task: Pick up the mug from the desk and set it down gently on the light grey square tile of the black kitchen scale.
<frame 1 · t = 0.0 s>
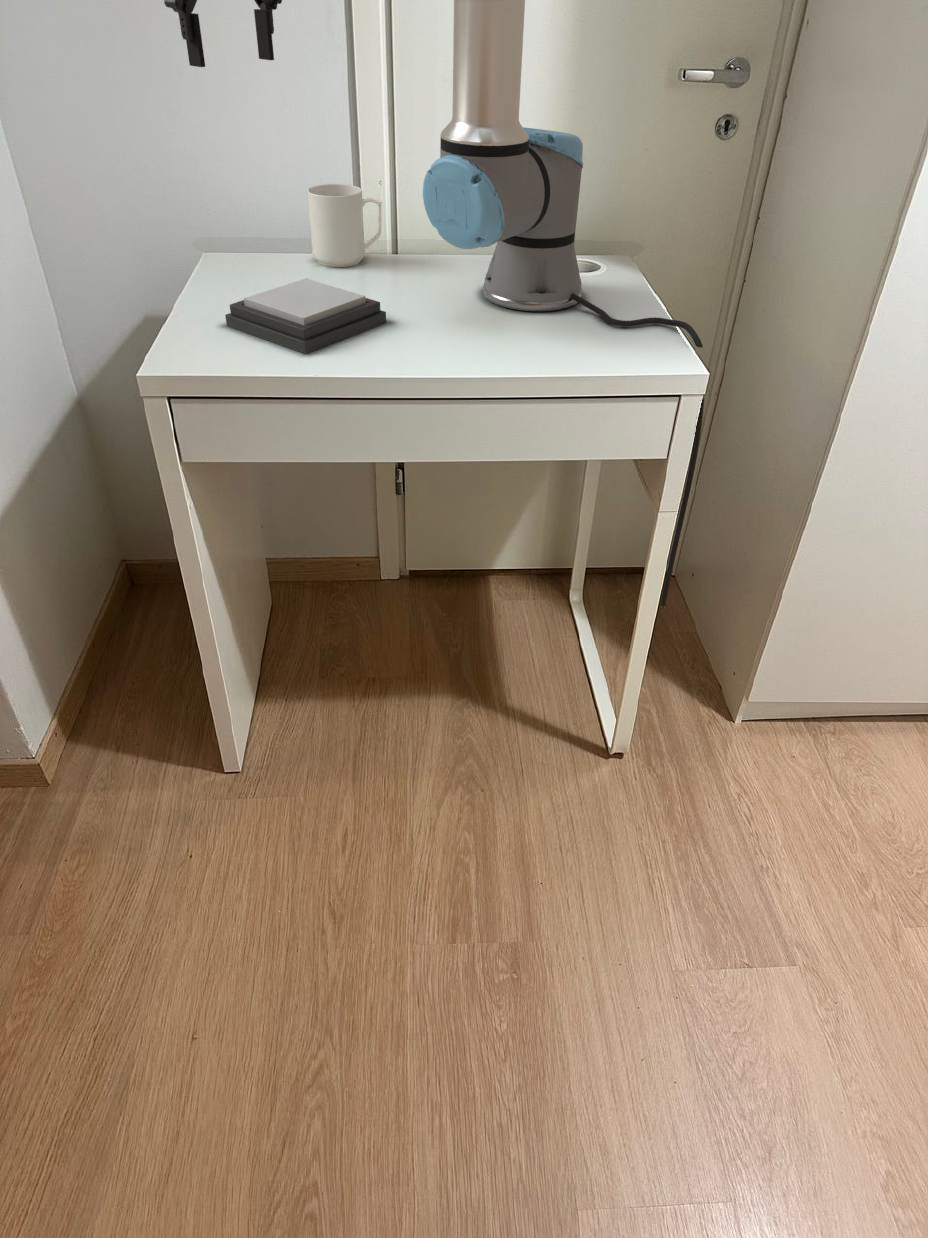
hand: (233, 62, 135), 28 cm above the table, tool pointing down, fingers open, 13 cm apart
mug: (348, 261, 150), on the table
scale: (307, 324, 126), on the table
light grey square tile: (305, 301, 124), point 3 cm above the table, slide at 0.0 cm
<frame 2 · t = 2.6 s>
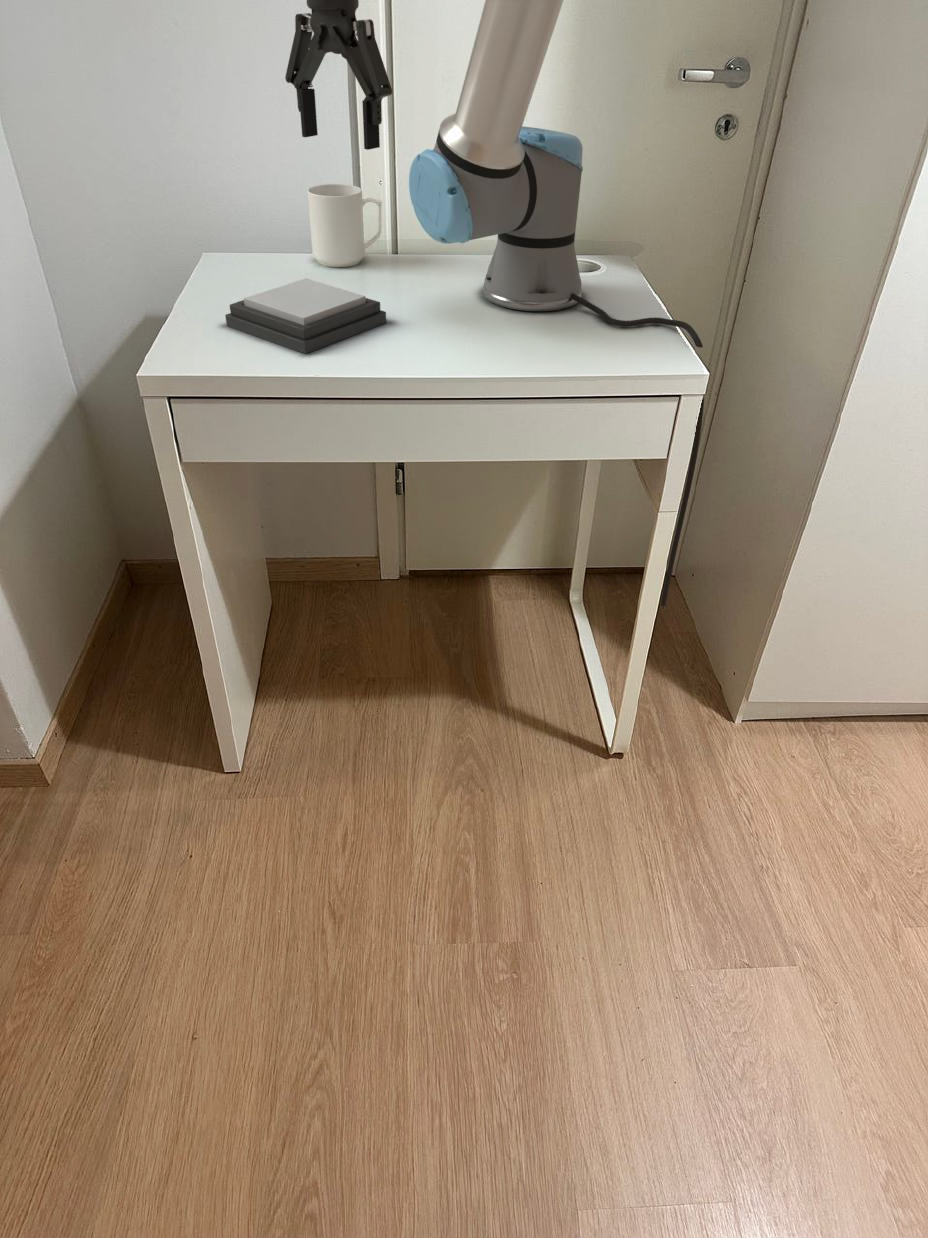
hand: (340, 142, 139), 18 cm above the table, tool pointing down, fingers open, 13 cm apart
nothing on the table moved.
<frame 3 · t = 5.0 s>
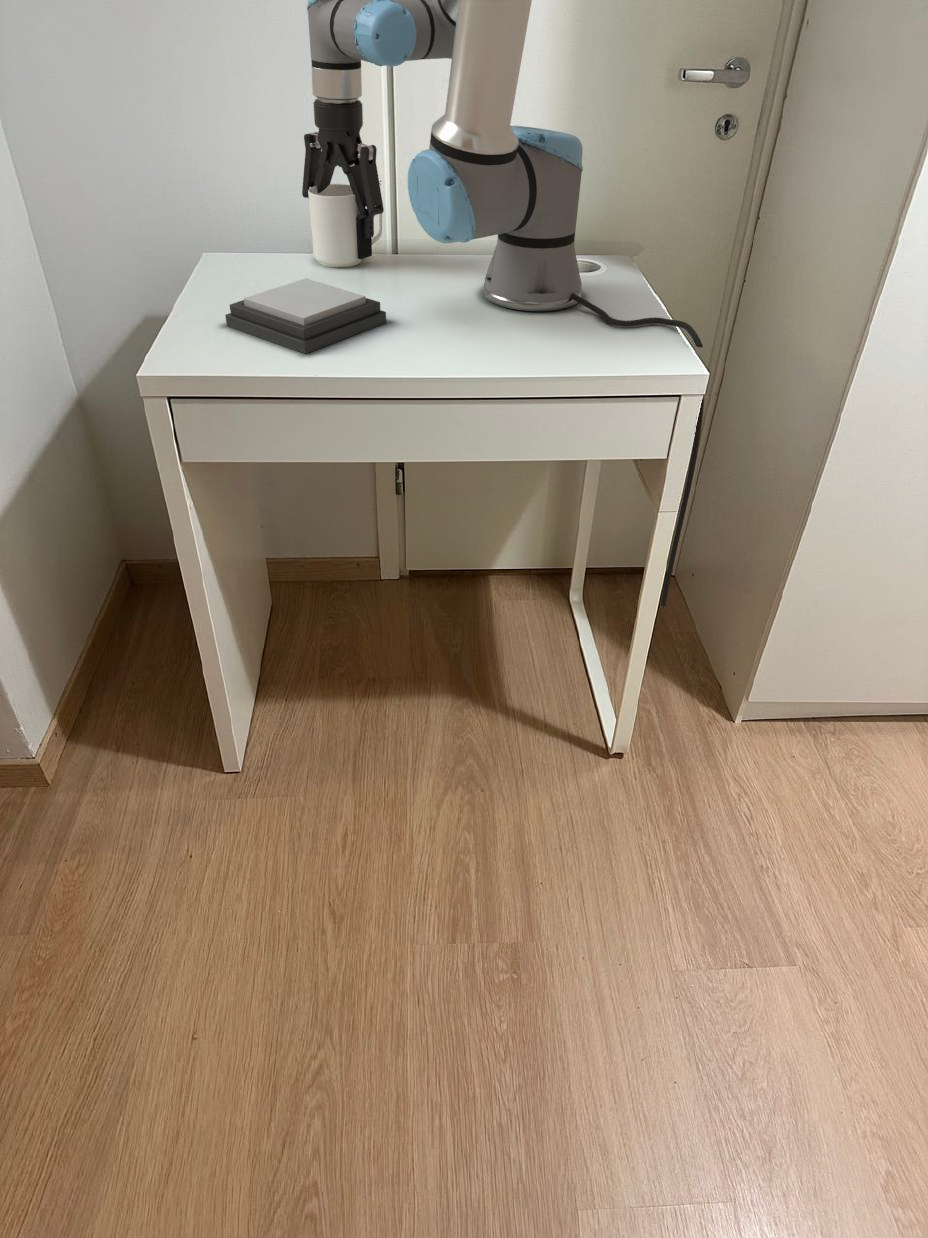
hand: (344, 250, 150), 1 cm above the table, tool pointing down, fingers closed on mug, 9 cm apart
mug: (349, 262, 150), on the table, touching gripper
everything else where it was.
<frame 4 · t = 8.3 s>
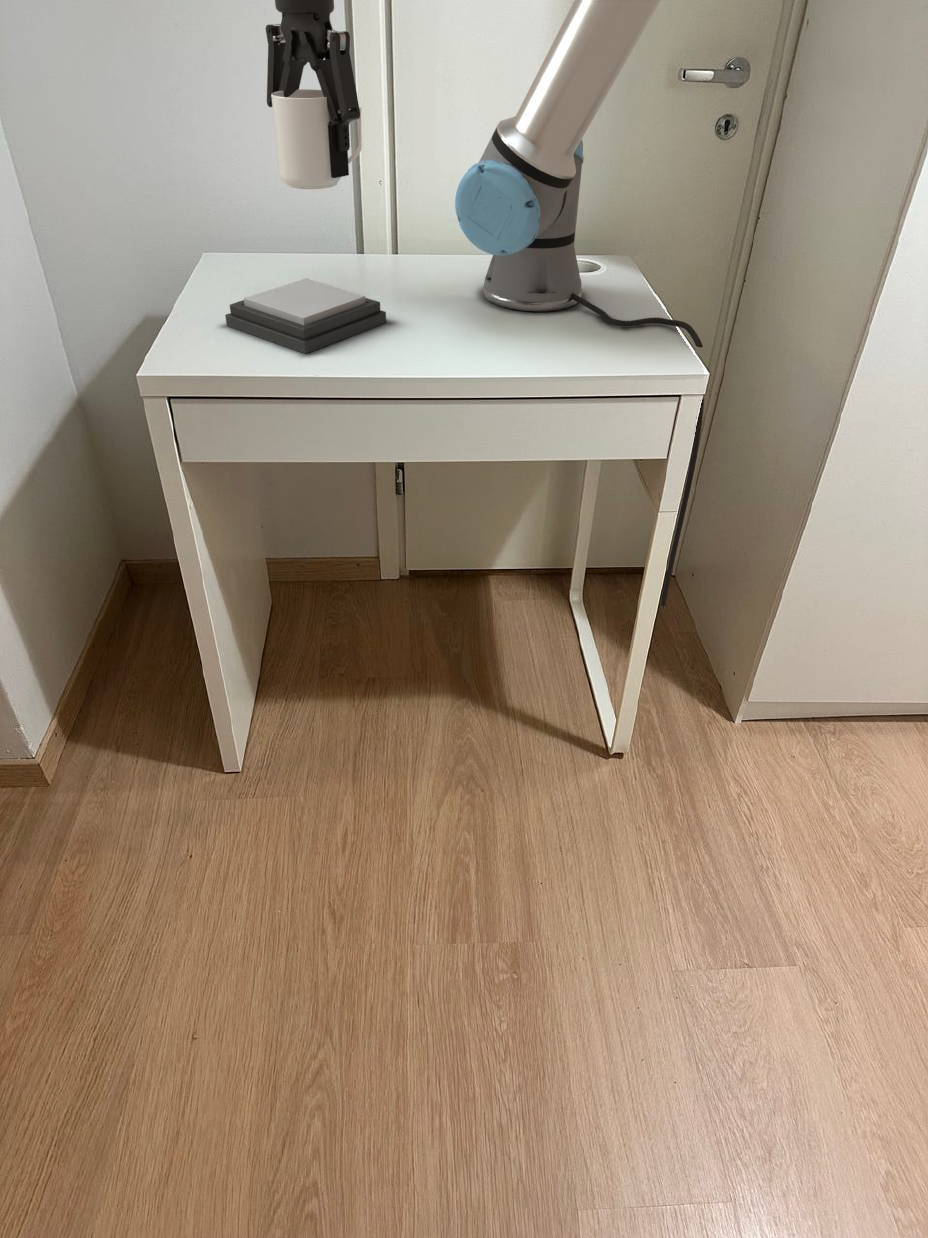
hand: (316, 170, 125), 17 cm above the table, tool pointing down, fingers closed on mug, 9 cm apart
mug: (323, 185, 126), point 16 cm above the table, touching gripper
everything else where it was.
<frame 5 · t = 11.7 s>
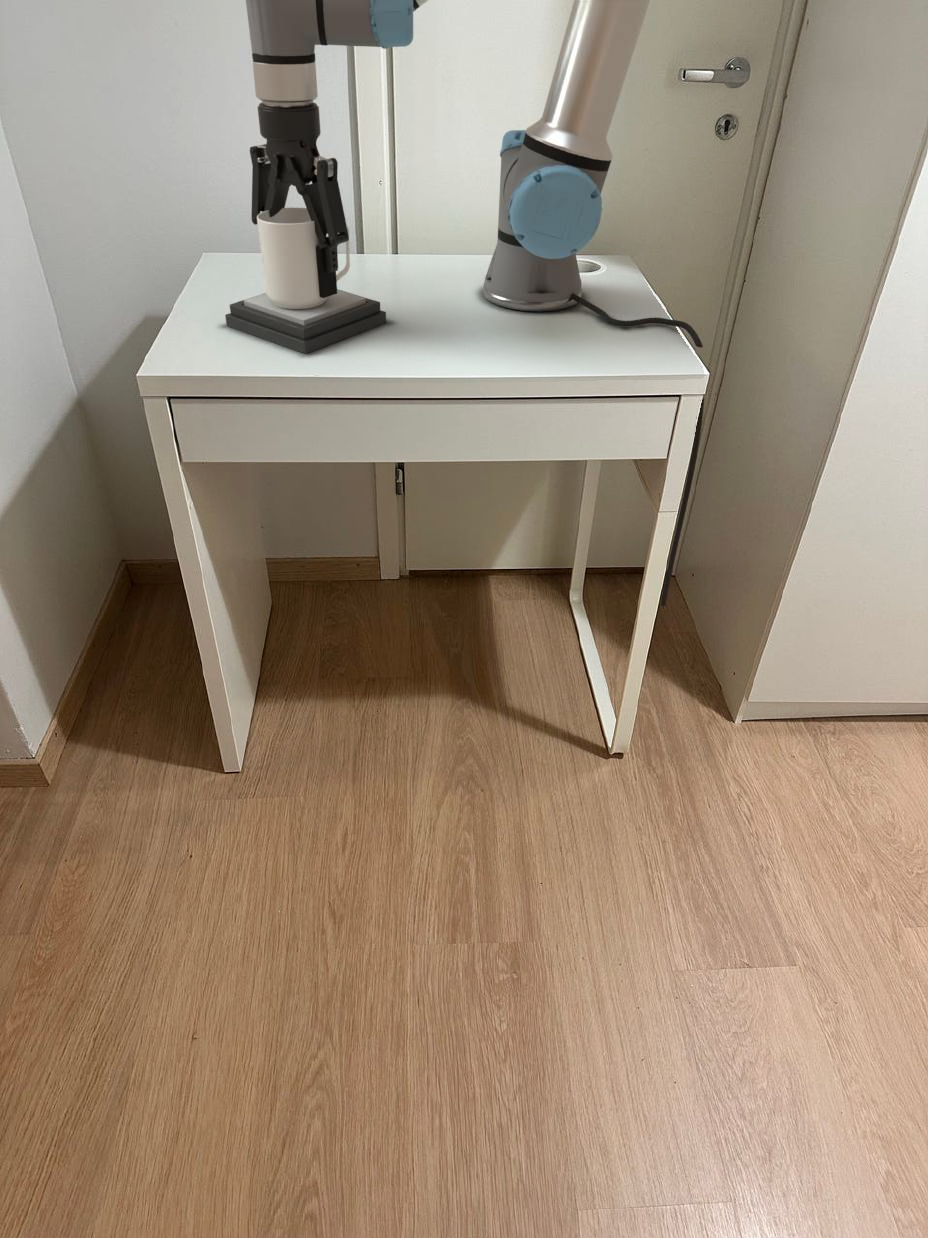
hand: (304, 287, 123), 5 cm above the table, tool pointing down, fingers closed on mug, 9 cm apart
mug: (310, 301, 123), point 3 cm above the table, touching gripper, light grey square tile
light grey square tile: (305, 303, 124), point 3 cm above the table, slide at -0.3 cm, touching mug
when the fingers open (5 cm above the table, at t = 11.8 s): mug stays where it is, resting on light grey square tile.
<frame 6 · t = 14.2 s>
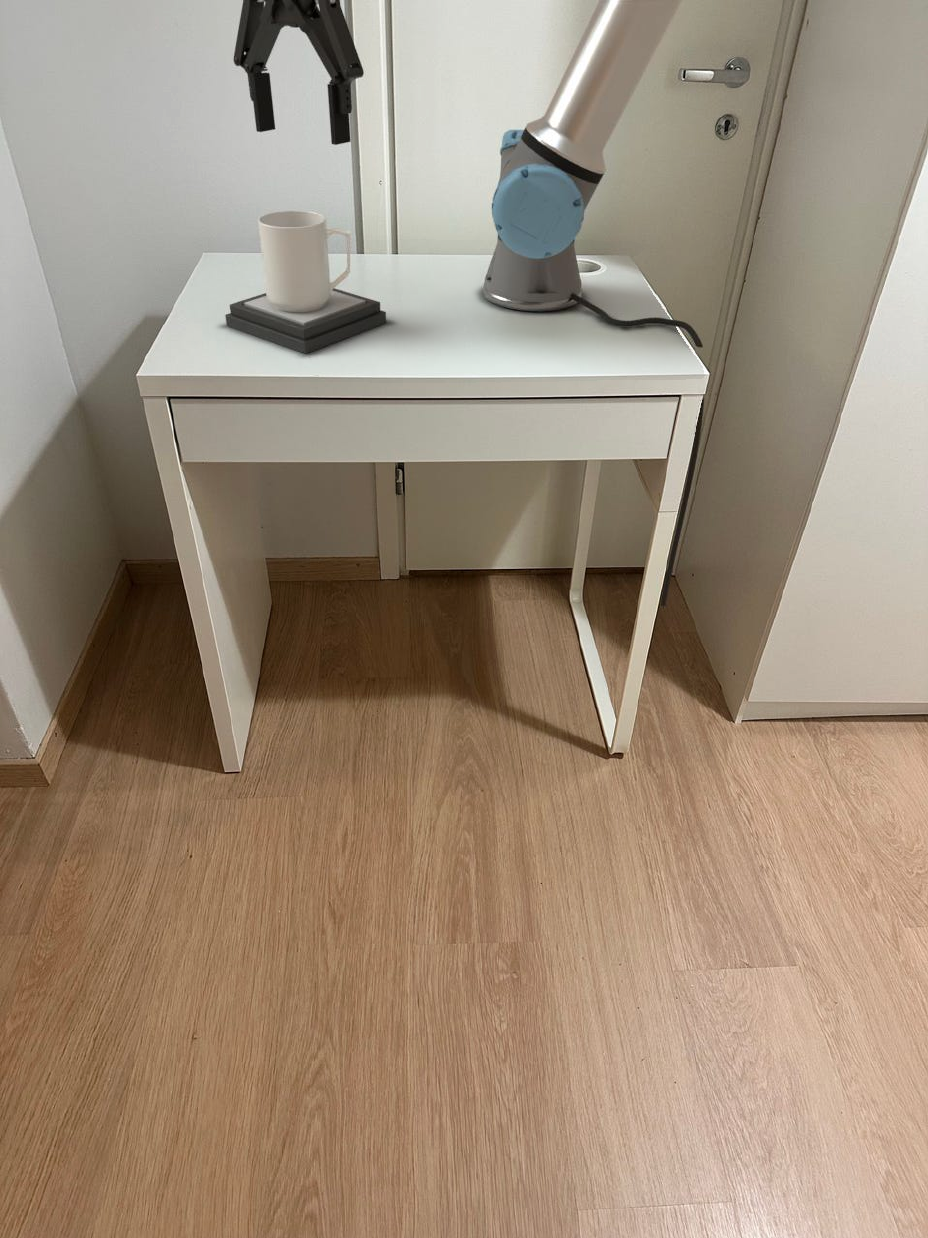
hand: (302, 136, 115), 23 cm above the table, tool pointing down, fingers open, 13 cm apart
mug: (311, 304, 123), point 3 cm above the table, touching light grey square tile
light grey square tile: (305, 306, 124), point 3 cm above the table, slide at -0.6 cm, touching mug
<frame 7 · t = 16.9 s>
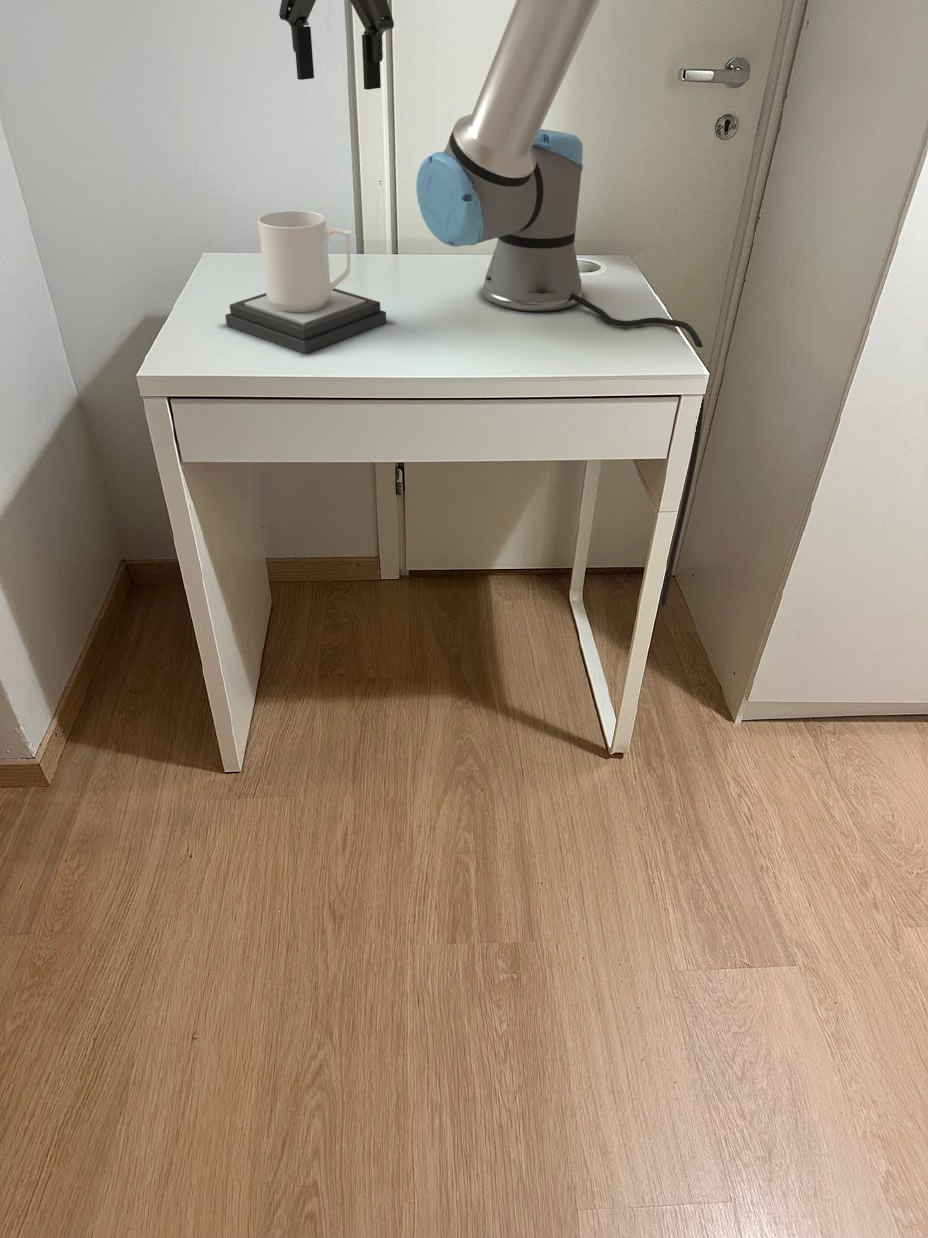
hand: (338, 83, 129), 27 cm above the table, tool pointing down, fingers open, 13 cm apart
nothing on the table moved.
at the end: mug inside the target area on the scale (1.2 cm from its centre), point 3.0 cm above the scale's base; mug tilted 0°; the gripper is holding nothing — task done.
